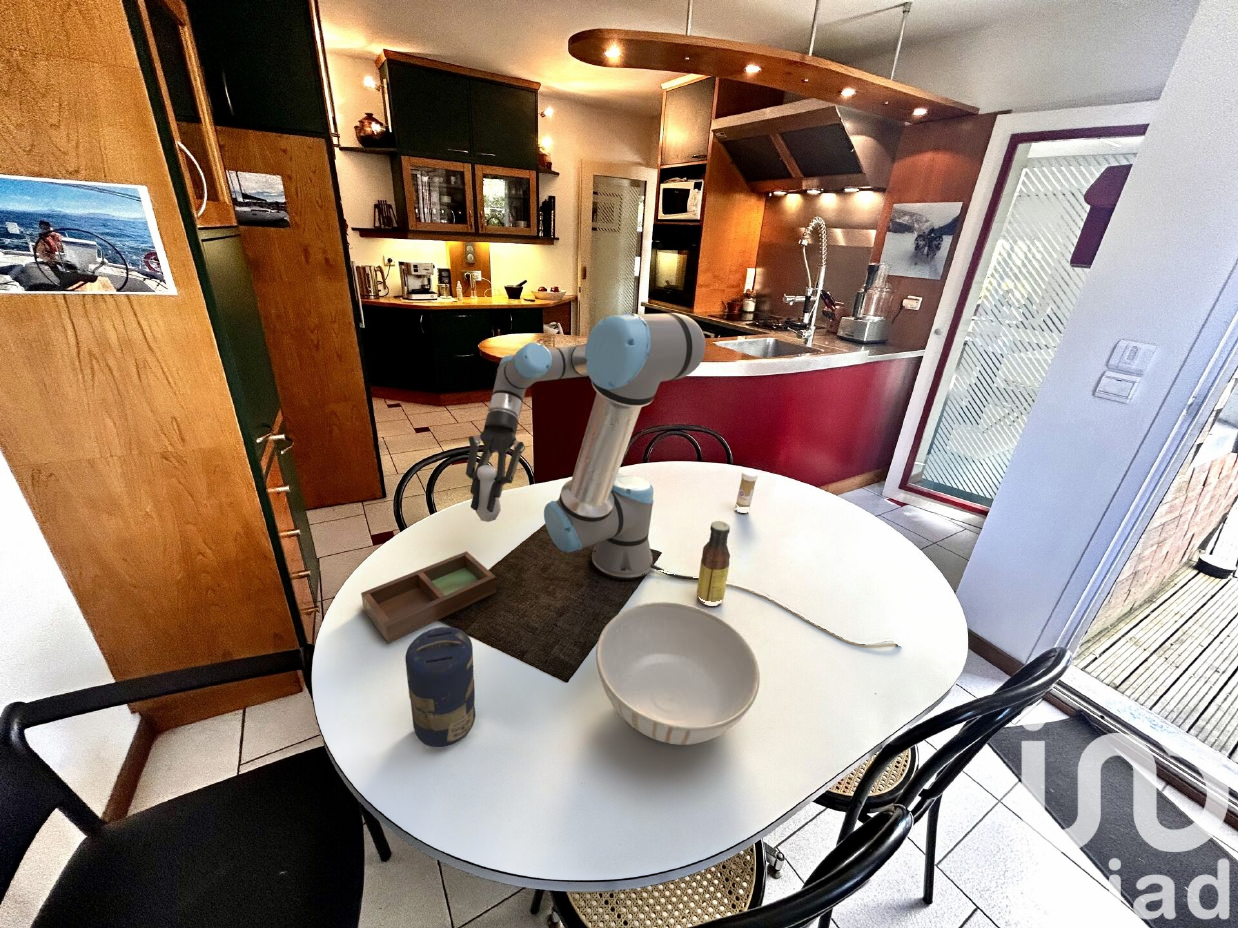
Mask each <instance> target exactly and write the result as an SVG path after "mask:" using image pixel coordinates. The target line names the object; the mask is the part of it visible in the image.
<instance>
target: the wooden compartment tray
mask: <svg viewBox="0 0 1238 928" xmlns="http://www.w3.org/2000/svg"><path fill="white" fill-rule="evenodd" d="M496 579H497V578H496V575H494V574H493V573H492V572H491V571H490V570H489V569H487V568H486V567H485V566H484V565H483V564H482V563H481V562H480V561H479V560H478V559H476V558H475V557H474V556H473V555H472V554H471V553H469V551H467V550H466V551H463V552H461V553H458V554H455V555H453V556H450V557H449V558H445V559H443V560H440V561H438V562H436V563H433V564H430V565H428V566H426V567H423V568H420V569H418V570H415V571H413V572H410V573H408V574H405V575H403V576H400V577H397V578H395V579H392V580H390V581H387V582H384V583H381V584H380V585H377V586H374V587H372V588H370V589H367V590H365V591H363V592H360V595H361V602H362V607H363V610H364V612H365V613H366V615H367V616H368V617H369V619H370V620H371V621H372V623H373V624H374V626H375V627H376V629H377V630H378V631H379V633H380V634H381V635H382V637H383V638H384V639H385V641H386V643H388V644H391V643H393V642H396V641H397V640H400V639H401V638H403V637H405V636H408V635H410V634H412V633H414V632H416V631H418V630H420V629H422V628H424V627H427V626H428V625H429V626H430V625H431V624H433V623H435V622H437V621H439V620H441V619H443V618H445V617H448V616H449V615H451V614H454V613H455V612H458V611H460V610H462V609H464V608H466V607H468V606H471V605H472V604H474V603H477V602H479V601H481V600H483V599H485V598H487V597H489V596H491V595H493V594H495V593H497V580H496Z"/></svg>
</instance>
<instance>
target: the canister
mask: <svg viewBox="0 0 1238 928" xmlns="http://www.w3.org/2000/svg"><path fill="white" fill-rule="evenodd" d="M473 648H474V647H473V643H472V640H471V638H470V636H469V635H468V634H467V633H466V632H465V631H464V630H462V629H460V628H458V627H457V628H456V627H453V626H441V627H435V628H432V629H429V630H426V631H424V632H422V633H420V634H419V635H418V636H417V637H416V638H414V639H413V640H412V642H411V643H410V644H409V645H408V648H407V649H406V653H405V670H406V678H407V687H408V688H407V689H408V697H409V701H410V708H411V717H412V727H413V730H414V735H415V736H416V738H417V739H418V741H420V743H422V744H423V745H425V746H428V747H430V748H437V749H440V748H441V749H442V748H448V747H451V746H453V745H455V744H457V743H459V742H461V740H463V739H464V738H465V737H467V735H468V734H469V733H470V731H471V730H472V728H473V726H474V724H475V720H476V716H477V715H476V713H477V712H476V705H475V701H476V700H475V699H476V698H475V697H476V693H475V691H476V690H475V689H476V687H475V675H474V674H475V673H474V672H475V671H474V652H473V650H474V649H473Z"/></svg>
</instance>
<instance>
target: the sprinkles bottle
mask: <svg viewBox="0 0 1238 928" xmlns="http://www.w3.org/2000/svg"><path fill="white" fill-rule="evenodd" d="M740 479H741V480H740V484H739V488H738V492H737V496H736V501H735V502H736V503H735V505H736V504H737V505H738V506H739V507H750V508H751V504H752V500H753V496H754V491H755V486H756V483H757V480H758V472H756V471H754V470H752V469H743V470H742V472H741V478H740Z"/></svg>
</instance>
